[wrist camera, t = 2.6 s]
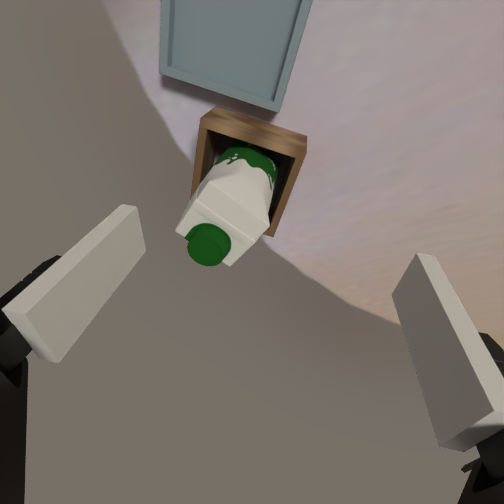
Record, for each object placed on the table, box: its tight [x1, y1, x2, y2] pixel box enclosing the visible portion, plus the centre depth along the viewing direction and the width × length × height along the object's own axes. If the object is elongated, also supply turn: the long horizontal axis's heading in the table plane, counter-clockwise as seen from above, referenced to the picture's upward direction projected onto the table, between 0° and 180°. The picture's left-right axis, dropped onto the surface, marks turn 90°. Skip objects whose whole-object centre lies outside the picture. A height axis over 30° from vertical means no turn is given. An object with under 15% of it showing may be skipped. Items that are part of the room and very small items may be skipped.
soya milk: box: [175, 139, 281, 266], centre depth 35 cm, size 9×9×20 cm
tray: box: [159, 0, 313, 113], centre depth 31 cm, size 16×16×2 cm
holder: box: [190, 106, 307, 237], centre depth 40 cm, size 14×14×7 cm
